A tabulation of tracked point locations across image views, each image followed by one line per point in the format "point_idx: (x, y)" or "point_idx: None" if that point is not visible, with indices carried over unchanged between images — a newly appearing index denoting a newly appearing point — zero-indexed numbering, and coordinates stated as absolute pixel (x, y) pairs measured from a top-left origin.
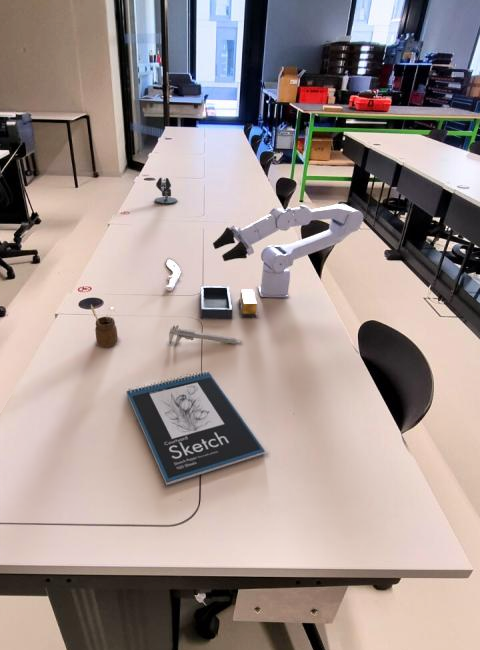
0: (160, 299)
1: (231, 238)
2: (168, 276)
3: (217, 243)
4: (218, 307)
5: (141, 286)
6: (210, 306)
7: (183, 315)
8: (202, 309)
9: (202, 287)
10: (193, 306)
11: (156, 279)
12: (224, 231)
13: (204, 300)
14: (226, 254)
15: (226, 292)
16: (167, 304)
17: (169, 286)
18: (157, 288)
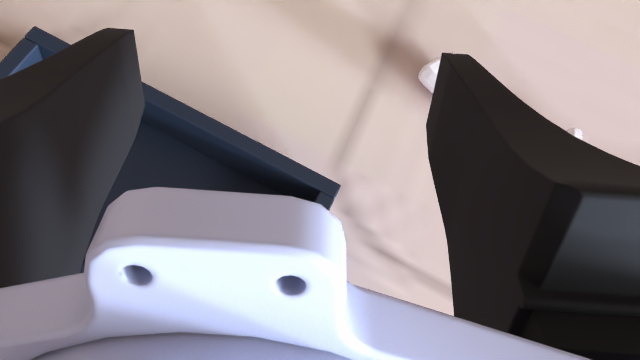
0: (356, 8)
1: (486, 323)
2: (576, 129)
3: (446, 101)
4: None
5: (521, 4)
6: (125, 161)
7: (136, 10)
8: (31, 30)
9: (318, 183)
10: (205, 101)
11: (585, 96)
12: (621, 162)
13: (219, 170)
14: (76, 46)
15: None
16: (290, 8)
17: (439, 64)
18: (480, 52)
